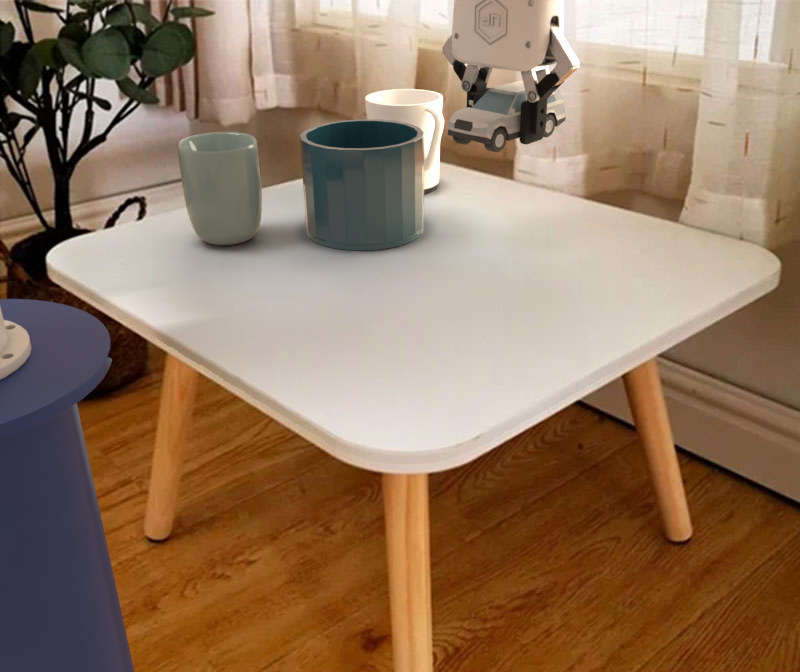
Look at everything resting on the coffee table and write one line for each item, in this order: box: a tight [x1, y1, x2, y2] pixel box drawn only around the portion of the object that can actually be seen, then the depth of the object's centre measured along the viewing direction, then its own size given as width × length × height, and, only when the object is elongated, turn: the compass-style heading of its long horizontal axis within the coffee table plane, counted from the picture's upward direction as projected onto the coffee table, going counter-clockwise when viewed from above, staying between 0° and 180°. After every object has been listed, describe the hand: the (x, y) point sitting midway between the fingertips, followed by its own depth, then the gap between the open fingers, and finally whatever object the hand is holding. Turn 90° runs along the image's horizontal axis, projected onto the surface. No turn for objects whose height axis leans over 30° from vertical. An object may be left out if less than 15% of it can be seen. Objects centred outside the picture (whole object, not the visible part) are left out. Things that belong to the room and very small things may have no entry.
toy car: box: [447, 79, 567, 153], centre depth 92 cm, size 6×13×5 cm, turn 134°
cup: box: [177, 131, 263, 246], centre depth 94 cm, size 8×8×10 cm
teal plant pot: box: [299, 118, 425, 251], centre depth 96 cm, size 12×12×10 cm
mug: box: [364, 88, 445, 195], centre depth 109 cm, size 11×9×10 cm
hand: (504, 134), depth 93 cm, fingers closed on toy car, 5 cm apart
